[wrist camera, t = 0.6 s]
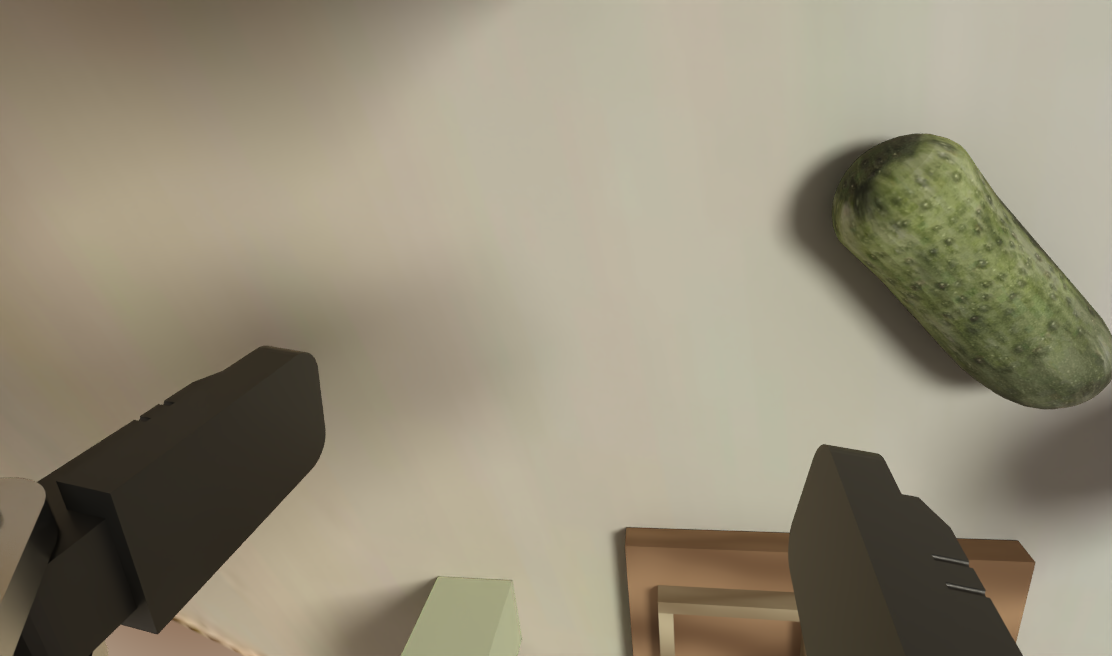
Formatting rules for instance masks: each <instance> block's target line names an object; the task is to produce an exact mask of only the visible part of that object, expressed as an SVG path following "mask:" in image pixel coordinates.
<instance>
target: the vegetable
mask: <svg viewBox="0 0 1112 656" xmlns="http://www.w3.org/2000/svg"><path fill="white" fill-rule="evenodd" d="M832 222H833V228H834V230H835V233H836V235H837V238H838V239H839V241H840V242H841V243H842V244H843V245H844V246H845V247H846V248H847V249H848V250H849V251H850V252H851V253H852V254H854V255H855V256H856V257H857V258H858V259H859V260H860V261H861V262H862V263H863V264H864V265H865V266H866V267H867V268H868V269H869V270H871V271H872V272H873V273H874V274H875V275H876V276H877V277H878V278H879V279H880V280H881V281H882V282H883V283H884V284H885V285H886V286H887V288H888V289H889V290H890V291H891V292H892V293H893V294H894V295H895V296H896V297H897V299H898V300H899V301H900V302H901V303H902V304H903V305H904V306H905V307H906V308H907V310H908V311H909V312H910V313H911V314H912V315H913V316H914V317H915V318H916V319H917V321H918V322H919V323H920V324H921V325H922V326H923V327H924V328H925V329H926V330H927V332H928V333H929V334H930V335H931V336H932V337H933V338H934V339H935V340H936V341H937V343H938V344H939V345H940V346H941V347H942V348H943V349H944V350H945V351H946V352H947V353H948V354H949V356H950V357H951V358H952V359H953V360H954V361H955V362H956V363H957V364H958V365H959V366H960V367H961V368H962V369H963V370H965V371H966V372H967V373H968V374H970V375H971V376H972V377H973V378H975V379H976V380H977V381H978V382H980V383H981V384H983V385H984V386H986V387H987V388H989V389H990V390H992V391H993V392H994V393H996V394H998V395H1000V396H1002V397H1003V398H1005V399H1008V400H1010V401H1013V402H1015V403H1018V404H1020V405H1023V406H1027V407H1032V408H1039V409H1058V408H1065V407H1071V406H1075V405H1078V404H1081V403H1083V402H1086V401H1088V400H1090V399H1092V398H1093V397H1095V396H1096V395H1097V394H1099V393H1100V392H1101V391H1102V390H1103V389H1104V388H1105V387H1106V386H1107V385H1108V384H1109V382H1110V381H1111V379H1112V335H1111V333H1110V331H1109V329H1108V327H1107V326H1106V324H1105V322H1104V321H1103V319H1102V318H1101V317H1100V316H1099V314H1098V313H1097V312H1096V311H1095V310H1094V308H1093V307H1092V306H1091V305H1090V304H1089V303H1088V301H1087V300H1086V299H1085V298H1084V297H1083V296H1082V294H1081V293H1080V292H1079V291H1078V290H1077V289H1076V287H1075V286H1074V285H1073V284H1072V283H1071V282H1070V280H1069V279H1068V278H1067V277H1066V276H1065V275H1064V273H1063V272H1062V271H1061V270H1060V269H1059V268H1058V266H1057V265H1056V264H1055V263H1054V262H1053V261H1052V259H1051V258H1050V257H1049V256H1048V255H1047V254H1046V252H1045V251H1044V250H1043V249H1042V248H1041V247H1040V245H1039V244H1038V243H1037V242H1036V241H1035V240H1034V238H1033V237H1032V236H1031V235H1030V234H1029V233H1028V231H1027V230H1026V229H1025V228H1024V227H1023V226H1022V224H1021V223H1020V222H1019V221H1018V220H1017V219H1016V217H1015V216H1014V215H1013V214H1012V213H1011V212H1010V210H1009V209H1008V208H1007V207H1006V206H1005V204H1004V203H1003V202H1002V201H1001V200H1000V199H999V197H998V196H997V195H996V194H995V192H994V191H993V189H992V188H991V187H990V185H989V184H988V182H987V181H986V179H985V178H984V176H983V175H982V174H981V172H980V171H979V169H978V168H977V166H976V165H975V163H974V162H973V160H972V159H971V157H970V156H969V155H968V153H967V152H966V151H965V149H964V148H963V147H962V146H961V145H959V144H957V143H955V142H953V141H952V140H950V139H948V138H944V137H940V136H936V135H932V134H910V135H904V136H899V137H896V138H893V139H891V140H888V141H885V142H883V143H881V144H879V145H877V146H875V147H873V148H872V149H870V150H868V151H867V152H865V153H864V154H863V155H861V156H860V157H859V158H858V159H857V160H856V161H855V162H854V163H853V164H852V165H851V167H850V168H849V169H848V170H847V171H846V173H845V174H844V176H843V178H842V180H841V181H840V183H839V185H838V187H837V190H836V193H835V196H834V199H833V206H832Z"/></svg>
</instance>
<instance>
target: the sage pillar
mask: <svg viewBox="0 0 1112 656" xmlns="http://www.w3.org/2000/svg"><path fill="white" fill-rule="evenodd" d="M521 640H522V637H521V631H520V625H519V619H518V613H517V607H516V601H515V595H514V589H513V583H512V581H511V580H492V579H474V578H455V577H438V578H437V580H436V582H435V584H434V586H433V588H432V590H431V593H430V595H429V597H428V599H427V601H426V603H425V605H424V607H423V610H422V612H421V614H420V616H419V618H418V620H417V622H416V625H415V627H414V629H413V631H412V633H411V635H410V637H409V639H408V642H407V644H406V646H405V648H404V650H403V652H402V654H401V656H517V655H518V652H519V648H520V644H521Z"/></svg>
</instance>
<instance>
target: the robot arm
mask: <svg viewBox="0 0 1112 656" xmlns="http://www.w3.org/2000/svg"><path fill="white" fill-rule="evenodd" d="M324 442H325V423H324V414H323V406H322V398H321V390H320V382H319V373H318V366H317V363H316V360H315V358H314V357H313V356H312V355H311V354H309V353H306V352H300V351H295V350H289V349H283V348H277V347H272V346H262V347H259V348H257V349H256V350H254V351H253V352H251V353H250V354H248V355H247V356H245V357H244V358H242V359H240V360H239V361H237V362H236V363H234V364H233V365H231V366H230V367H228V368H227V369H225V370H224V371H221V372H219V373H216V374H214V375H211V376H208V377H206V378H203V379H200V380H198V381H195V382H193V383H191V384H189V385H188V386H186V387H185V388H183V389H182V390H180V391H179V392H177V393H175V394H174V395H172V396H171V397H169V398H168V399H166V400H165V401H164V404H163V405H160V404H158V405H157V406H155V407H154V408H152V409H150V410H149V411H147V412H146V413H144V414H143V415H141V416H140V420H139V421H136V420H133V421H132V422H130V423H129V424H127V425H126V426H124V427H122V428H121V429H119V430H118V431H116V432H115V433H113V434H111V435H110V436H108V437H107V438H105V439H104V440H102V441H101V442H99V443H97V444H96V445H94V446H93V447H91V448H90V449H88V450H86V451H85V452H83V453H82V454H80V455H79V456H77V457H76V458H74V459H72V460H71V461H69V462H68V463H66V464H65V465H63V466H62V467H60V468H58V469H57V470H55V471H54V472H52V473H51V474H49V475H47V476H46V477H44V478H43V479H41V480H40V481H38V482H35V481H33V480H30V479H24V478H13V477H10V478H0V656H108V649H107V645H106V643H105V639H106V638H107V637H108V636H109V635H110V634H111V633H112V632H113V631H114V630H115V629H116V628H117V627H118V626H120V625H124V626H128V627H132V628H136V629H139V630H143V631H147V632H151V633H154V634H158V633H160V631H161V630H162V629H163V628H164V627H165V626H166V625H167V624H168V623H169V622H170V621H171V620H172V619H173V618H174V616H175V615H176V614H177V613H178V612H179V611H180V610H181V609H182V608H183V607H184V606H185V605H186V604H187V603H188V601H189V600H190V599H191V598H192V597H193V596H194V595H195V594H196V593H197V592H198V591H199V590H200V589H201V587H202V586H203V585H204V584H205V583H206V582H207V581H208V580H209V579H210V578H211V577H212V576H213V575H214V574H215V572H216V571H217V570H218V569H219V568H220V567H221V566H222V565H223V564H224V563H225V562H226V561H227V560H228V559H229V557H230V556H231V555H232V554H233V553H234V552H235V551H236V550H237V549H238V548H239V547H240V546H241V545H242V543H243V542H244V541H245V540H246V539H247V538H248V537H249V536H250V535H251V534H252V533H253V532H254V531H255V530H256V528H257V527H258V526H259V525H260V524H261V523H262V522H263V521H264V520H265V519H266V518H267V517H268V516H269V514H270V513H271V512H272V511H273V510H274V509H275V508H276V507H277V506H278V505H279V504H280V503H281V502H282V501H283V499H284V498H285V497H286V496H287V495H288V494H289V493H290V492H291V491H292V490H293V489H294V488H295V487H296V486H297V484H298V483H299V482H300V481H301V480H302V479H303V478H304V477H305V476H306V475H307V474H308V473H309V472H310V470H311V469H312V468H313V467H314V466H315V464H316V463H317V461H318V459H319V457H320V455H321V453H322V450H323V447H324ZM788 562H789V570H790V575H791V580H792V585H793V590H794V595H795V600H796V605H797V610H798V615H799V620H800V625H801V630H802V635H803V640H804V645H805V650H806V655H807V656H1023V655H1022V653H1021V652H1020V650H1019V648H1018V646H1017V645H1016V643H1015V641H1014V639H1013V637H1012V636H1011V634H1010V632H1009V630H1008V629H1007V627H1006V625H1005V623H1004V622H1003V620H1002V618H1001V616H1000V614H999V613H998V611H997V609H996V607H995V606H994V604H993V602H992V600H991V599H990V598H988V597H986V596H985V591H986V590H985V588H984V586H983V584H982V583H981V581H980V579H979V577H978V576H977V574H976V572H975V570H974V569H973V568H970V567H969V560H968V558H967V556H966V554H965V553H964V551H963V549H962V547H961V546H960V544H959V542H958V540H957V539H956V537H955V535H954V533H953V531H952V530H951V528H950V527H949V526H948V525H947V524H946V523H945V522H944V521H943V520H942V519H941V518H940V517H938V516H937V515H936V514H935V513H934V512H933V511H932V510H931V509H930V508H929V507H928V506H927V505H926V504H925V503H924V502H923V501H922V500H921V499H920V498H919V497H914V496H908V495H903V494H901V492H900V490H899V488H898V486H897V484H896V482H895V480H894V478H893V476H892V474H891V472H890V470H889V468H888V466H887V464H886V462H885V460H884V458H883V457H882V456H881V455H880V454H877V453H871V452H866V451H860V450H854V449H848V448H843V447H837V446H831V445H825V444H823V445H821V446H820V447H819V448H818V449H817V451H816V453H815V455H814V458H813V461H812V464H811V467H810V470H809V473H808V476H807V479H806V482H805V485H804V488H803V491H802V494H801V497H800V501H799V504H798V507H797V510H796V513H795V516H794V519H793V522H792V525H791V530H790V535H789V544H788Z"/></svg>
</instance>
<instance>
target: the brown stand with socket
mask: <svg viewBox="0 0 1112 656" xmlns="http://www.w3.org/2000/svg"><path fill="white" fill-rule="evenodd" d="M789 535H790V533H772V532H743V531H713V530H683V529H654V528H626V540H625V552H626V566H627V579H628V592H629V605H630V619H631V632H632V645H633V656H807V655H806V650H805V645H804V640H803V635H802V630H801V625H800V620H799V615H798V610H797V605H796V600H795V595H794V590H793V585H792V580H791V575H790V570H789V562H788V544H789ZM957 540H958V542H959V544H960V546H961V547H962V549H963V551H964V553H965V554H966V556H967V558H968V560H969V567H970V568H973V569H974V570H975V572H976V574H977V576H978V577H979V579H980V581H981V583H982V584H983V586H984V588H985V590H986V591H985V596H986V597H988V598H990V599H991V600H992V602H993V604H994V606H995V607H996V609H997V611H998V613H999V614H1000V616H1001V618H1002V620H1003V622H1004V623H1005V625H1006V627H1007V629H1008V630H1009V632H1010V634H1011V636H1012V637H1013V639H1014V641H1015V643H1016V640H1017V636H1018V632H1019V627H1020V623H1021V619H1022V615H1023V611H1024V607H1025V603H1026V599H1027V595H1028V591H1029V587H1030V583H1031V578H1032V574H1033V570H1034V566H1035V561H1034V560H1033V559H1032V558H1031V556H1030V555H1029V554H1028V553H1027V551H1026V550H1025V549H1024V548H1023V546H1022V545H1021V544H1020V543H1019V541H1010V540H980V539H957Z"/></svg>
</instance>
